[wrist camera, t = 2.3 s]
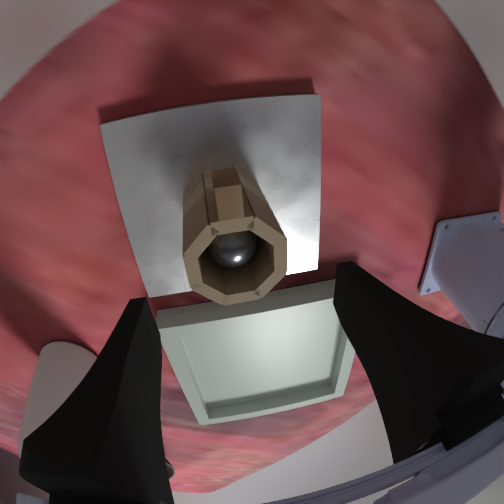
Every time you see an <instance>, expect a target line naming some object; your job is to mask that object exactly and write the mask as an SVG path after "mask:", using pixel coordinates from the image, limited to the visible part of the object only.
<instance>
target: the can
mask: <svg viewBox="0 0 504 504" xmlns="http://www.w3.org/2000/svg"><path fill="white" fill-rule="evenodd" d="M96 359H97V356H96V355H95V354H94V353H93V352H91V351H90V350H88V349H87V348H85V347H83V346H81V345H79V344H76V343H73V342H68V341H55V342H52V343H49V344H47V345H45V346H44V347H43V348H42V350H41V352H40V355H39V358H38V362H37V365H36V368H35V372H34V375H33V379H32V383H31V386H30V390H29V394H28V398H27V402H26V407H25V411H24V416H23V421H22V426H21V431H20V436H19V443H18V453H19V456H20V458H21V451H22V445H23V440H24V439H25V438H26V437H27V436H29V435H30V434H31V433H32V432H33V431H34V430H36V429H37V428H38V427H39V426H40V425H41V424H43V423H44V422H45V421H46V420H47V419H48V418H49V417H50V416H51V415H52V414H53V413H54V412H55V411H56V410H57V409H58V408H59V407H60V406H61V405H62V404H63V402H64V401H65V400H66V399H67V398H68V397H69V395H70V394H71V393H72V392H73V391H74V389H75V388H76V387H77V386H78V385H79V383H80V382H81V381H82V379H83V378H84V377H85V375H86V374H87V372H88V371H89V370H90V368H91V367H92V365H93V364H94V362H95V360H96Z"/></svg>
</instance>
